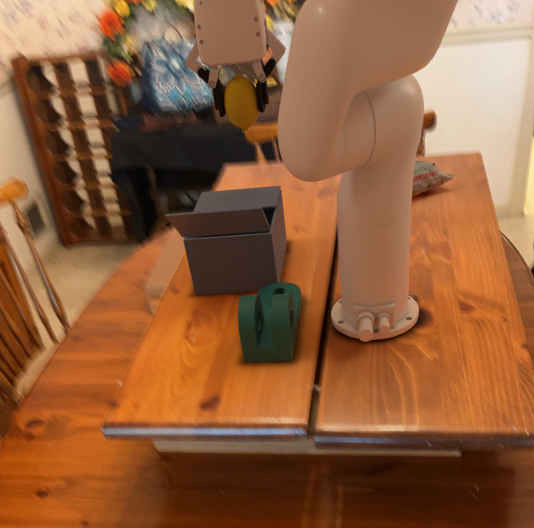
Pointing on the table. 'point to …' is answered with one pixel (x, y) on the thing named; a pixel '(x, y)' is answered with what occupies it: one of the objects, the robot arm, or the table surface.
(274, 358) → the bracket
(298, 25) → the robot arm
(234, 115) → the lemon
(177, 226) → the carton flap
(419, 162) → the packaged food
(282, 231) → the carton
